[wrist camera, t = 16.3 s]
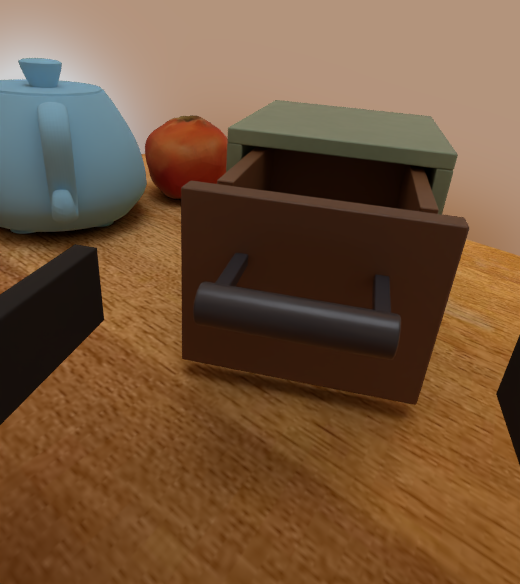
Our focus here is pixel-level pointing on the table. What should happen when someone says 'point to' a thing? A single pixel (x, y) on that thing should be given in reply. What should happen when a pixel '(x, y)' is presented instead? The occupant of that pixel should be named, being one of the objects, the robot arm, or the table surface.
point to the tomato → (185, 154)
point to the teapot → (63, 154)
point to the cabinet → (348, 138)
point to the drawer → (318, 271)
